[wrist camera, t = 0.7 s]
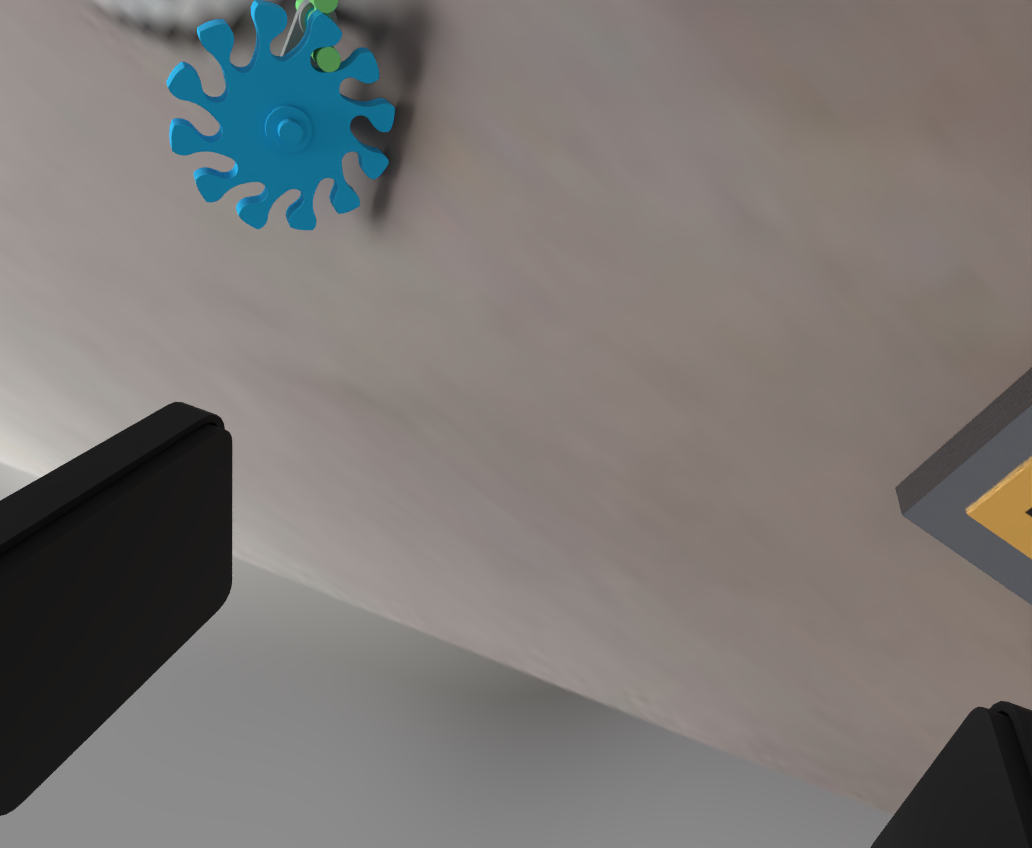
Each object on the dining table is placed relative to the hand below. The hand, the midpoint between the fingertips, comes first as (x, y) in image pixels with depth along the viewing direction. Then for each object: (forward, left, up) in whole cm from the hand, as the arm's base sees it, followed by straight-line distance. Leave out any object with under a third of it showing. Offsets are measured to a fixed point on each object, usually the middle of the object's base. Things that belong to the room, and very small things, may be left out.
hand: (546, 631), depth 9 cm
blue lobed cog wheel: (+6, -18, -29) cm, 35 cm away
